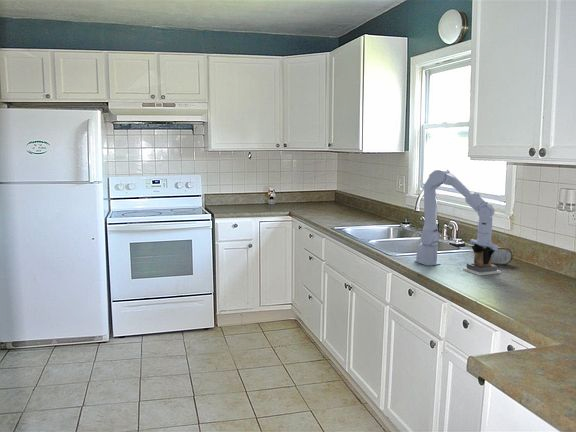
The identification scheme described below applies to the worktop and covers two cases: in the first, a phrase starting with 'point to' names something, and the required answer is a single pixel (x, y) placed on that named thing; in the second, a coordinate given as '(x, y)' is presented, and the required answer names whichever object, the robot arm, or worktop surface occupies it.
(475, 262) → the plug block
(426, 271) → the worktop surface
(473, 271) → the grey tray
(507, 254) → the tin
